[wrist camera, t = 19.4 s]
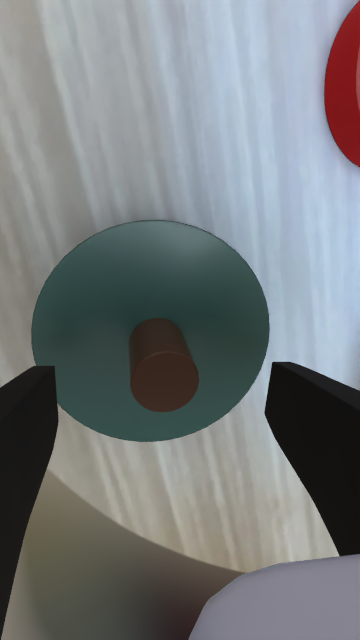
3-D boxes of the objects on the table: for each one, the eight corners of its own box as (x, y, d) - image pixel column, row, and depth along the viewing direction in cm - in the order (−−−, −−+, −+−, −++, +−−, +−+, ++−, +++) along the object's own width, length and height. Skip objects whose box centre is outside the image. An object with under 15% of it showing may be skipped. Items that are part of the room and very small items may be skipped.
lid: (45, 434, 17) (18, 512, 13) (26, 212, 13) (-19, 217, 9) (248, 424, 18) (284, 490, 14) (276, 225, 15) (334, 234, 11)
